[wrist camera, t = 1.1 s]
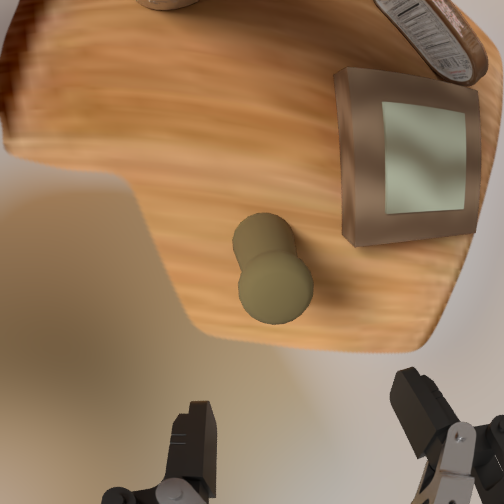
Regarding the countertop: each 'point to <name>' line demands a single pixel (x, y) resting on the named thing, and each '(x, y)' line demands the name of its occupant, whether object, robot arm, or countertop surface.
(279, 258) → the olive pepper mill
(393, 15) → the tin
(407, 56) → the countertop surface
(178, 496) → the robot arm
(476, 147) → the stand
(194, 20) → the countertop surface
